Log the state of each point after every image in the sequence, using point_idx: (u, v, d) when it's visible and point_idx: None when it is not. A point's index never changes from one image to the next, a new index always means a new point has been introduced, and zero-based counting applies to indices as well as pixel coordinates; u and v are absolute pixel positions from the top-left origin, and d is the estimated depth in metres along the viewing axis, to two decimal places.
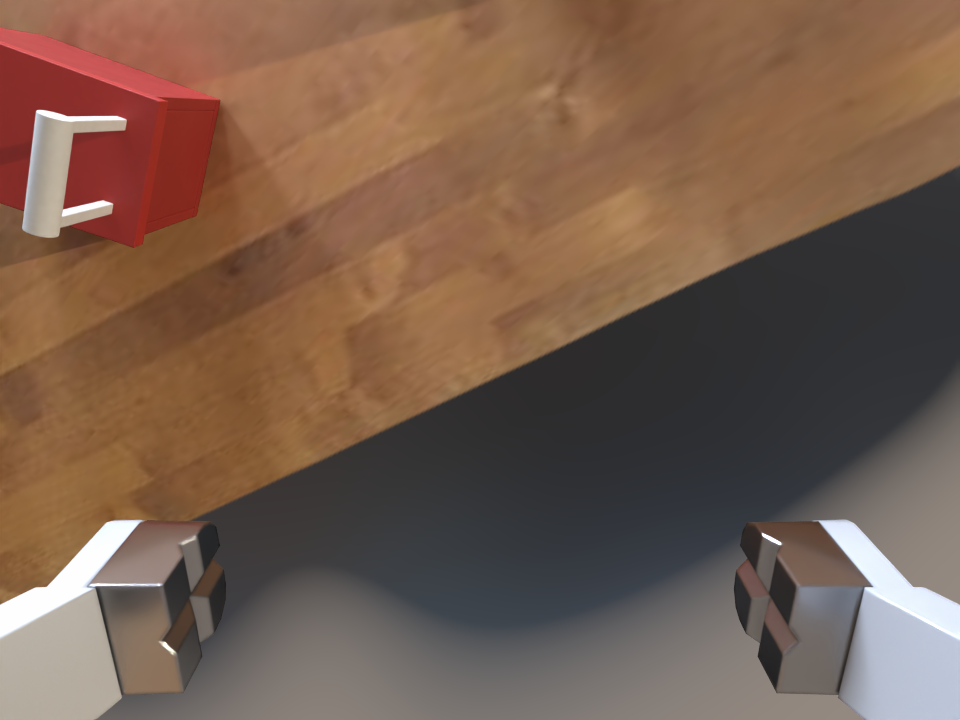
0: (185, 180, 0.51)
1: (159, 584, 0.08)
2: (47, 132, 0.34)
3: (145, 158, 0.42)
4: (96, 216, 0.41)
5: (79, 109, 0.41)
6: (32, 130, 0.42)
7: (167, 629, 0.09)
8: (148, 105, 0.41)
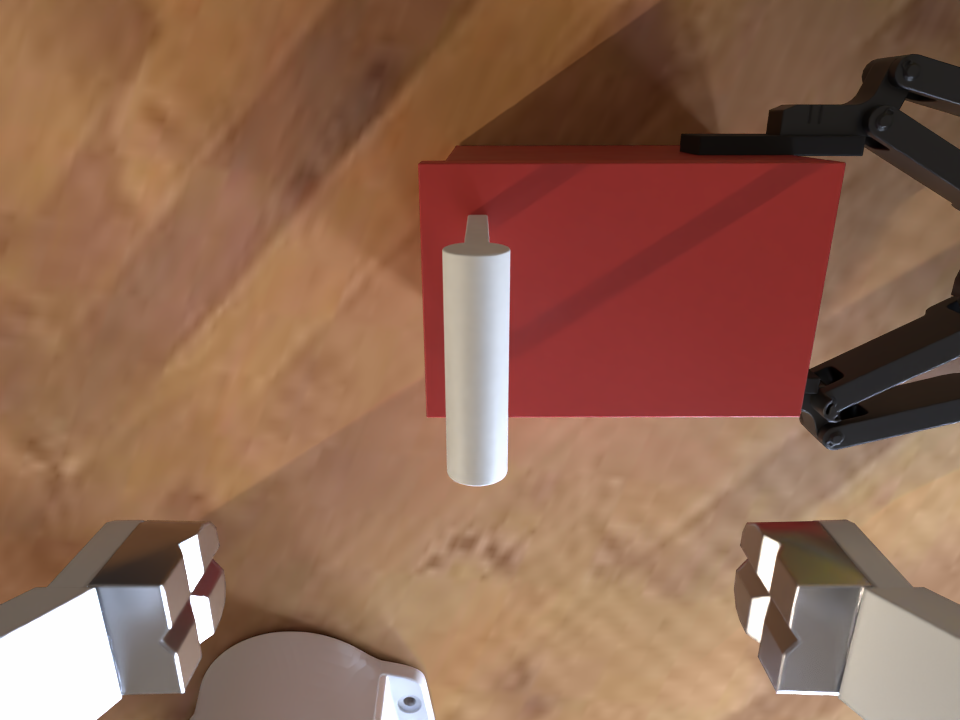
0: None
1: (159, 584, 0.08)
2: (471, 459, 0.18)
3: (430, 328, 0.25)
4: (466, 226, 0.22)
5: (544, 366, 0.25)
6: (616, 309, 0.25)
7: (167, 629, 0.09)
8: (441, 406, 0.26)
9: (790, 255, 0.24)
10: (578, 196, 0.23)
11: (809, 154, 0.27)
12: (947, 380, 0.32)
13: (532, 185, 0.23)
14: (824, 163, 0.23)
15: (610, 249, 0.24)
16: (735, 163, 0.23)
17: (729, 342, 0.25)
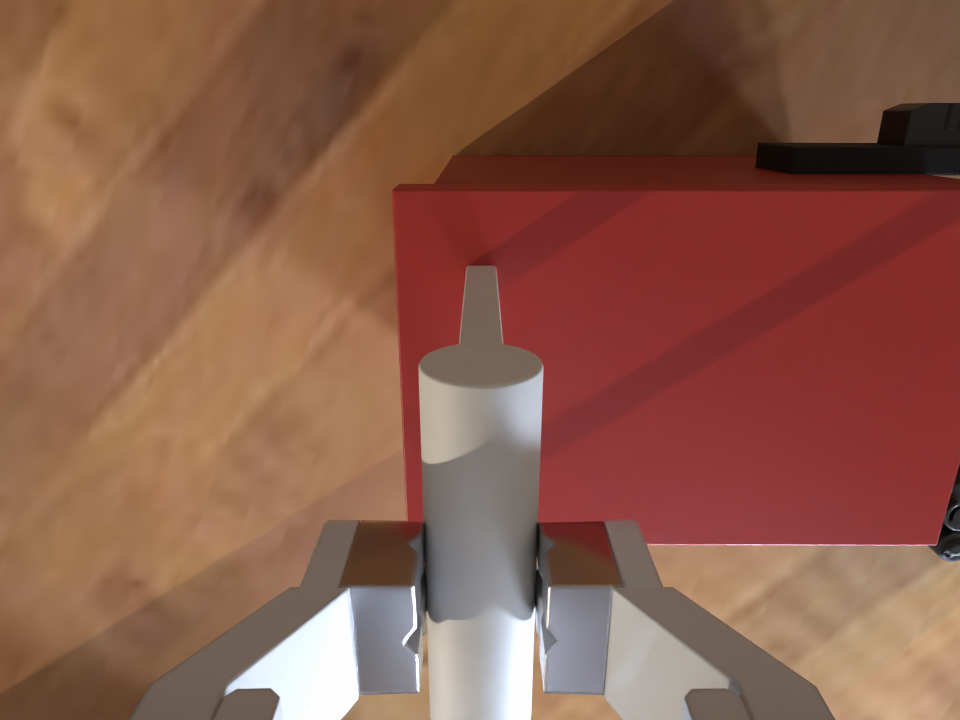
0: None
1: (410, 584, 0.08)
2: (470, 717, 0.10)
3: (412, 425, 0.17)
4: (464, 290, 0.14)
5: (576, 477, 0.18)
6: (682, 400, 0.17)
7: (411, 629, 0.09)
8: None
9: (941, 325, 0.16)
10: (631, 239, 0.16)
11: (947, 173, 0.19)
12: None
13: (563, 222, 0.15)
14: None
15: (676, 316, 0.16)
16: (869, 190, 0.15)
17: (842, 445, 0.17)
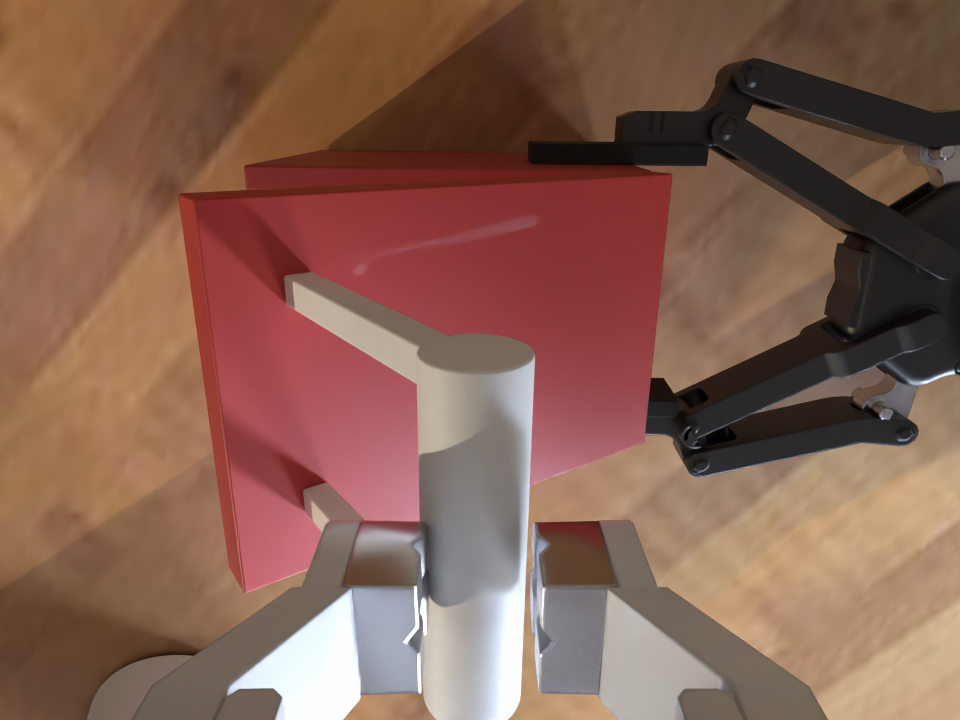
0: None
1: (412, 584, 0.08)
2: (493, 690, 0.11)
3: (238, 460, 0.15)
4: (317, 298, 0.13)
5: (403, 467, 0.18)
6: None
7: (413, 629, 0.09)
8: (266, 569, 0.17)
9: (633, 277, 0.22)
10: (430, 232, 0.17)
11: (650, 164, 0.25)
12: (824, 404, 0.30)
13: (372, 221, 0.16)
14: (657, 175, 0.21)
15: (470, 298, 0.18)
16: (586, 178, 0.19)
17: (587, 383, 0.22)
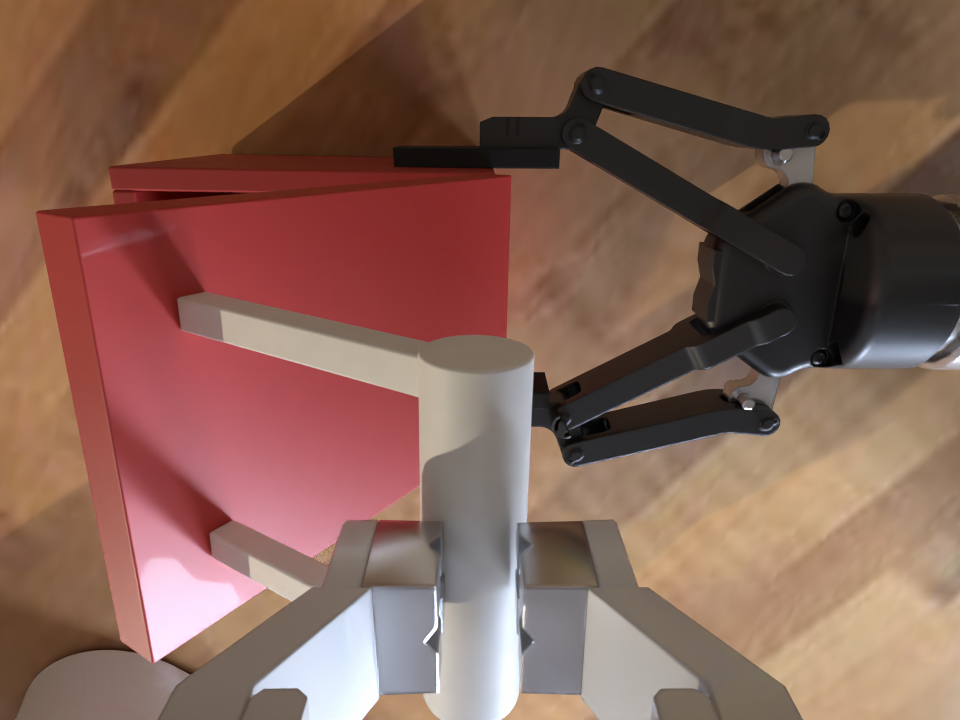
0: None
1: (431, 583, 0.08)
2: (506, 679, 0.11)
3: (138, 513, 0.13)
4: (239, 319, 0.12)
5: (305, 490, 0.17)
6: None
7: (433, 629, 0.09)
8: (175, 630, 0.15)
9: (487, 274, 0.23)
10: (317, 241, 0.16)
11: (505, 166, 0.26)
12: (696, 396, 0.32)
13: (262, 233, 0.15)
14: (500, 177, 0.22)
15: (356, 306, 0.18)
16: (446, 181, 0.20)
17: None
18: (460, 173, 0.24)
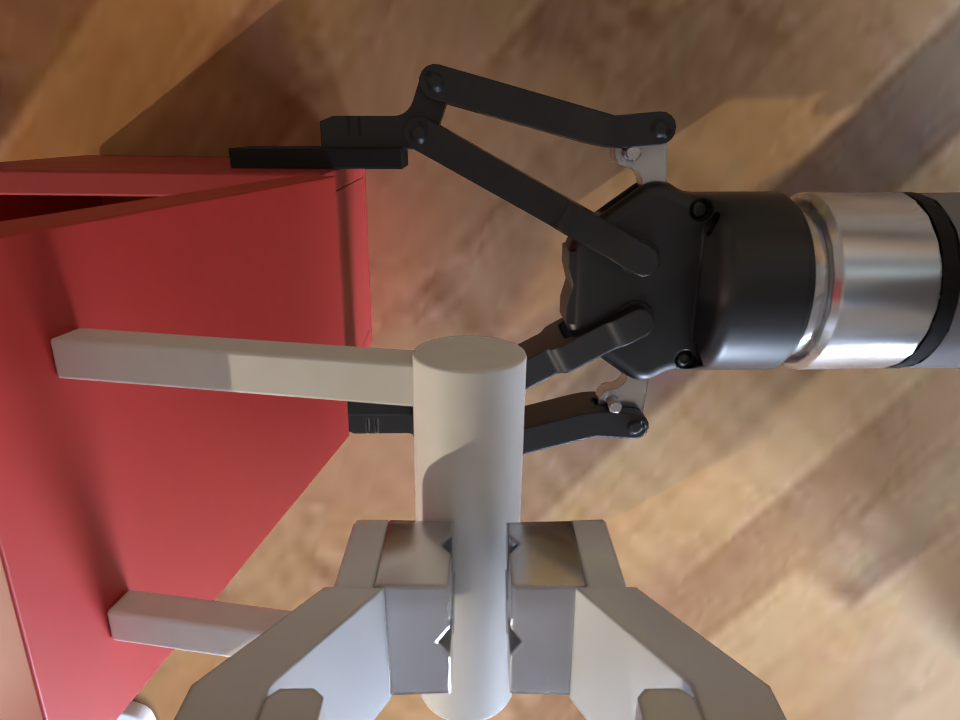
0: None
1: (444, 583, 0.08)
2: None
3: (31, 608, 0.11)
4: (156, 353, 0.11)
5: (193, 538, 0.15)
6: (239, 405, 0.17)
7: (445, 629, 0.09)
8: None
9: (324, 278, 0.22)
10: (180, 258, 0.14)
11: (347, 167, 0.26)
12: (569, 399, 0.31)
13: (128, 253, 0.13)
14: (327, 178, 0.22)
15: (221, 326, 0.16)
16: (285, 185, 0.19)
17: None
18: (284, 174, 0.23)
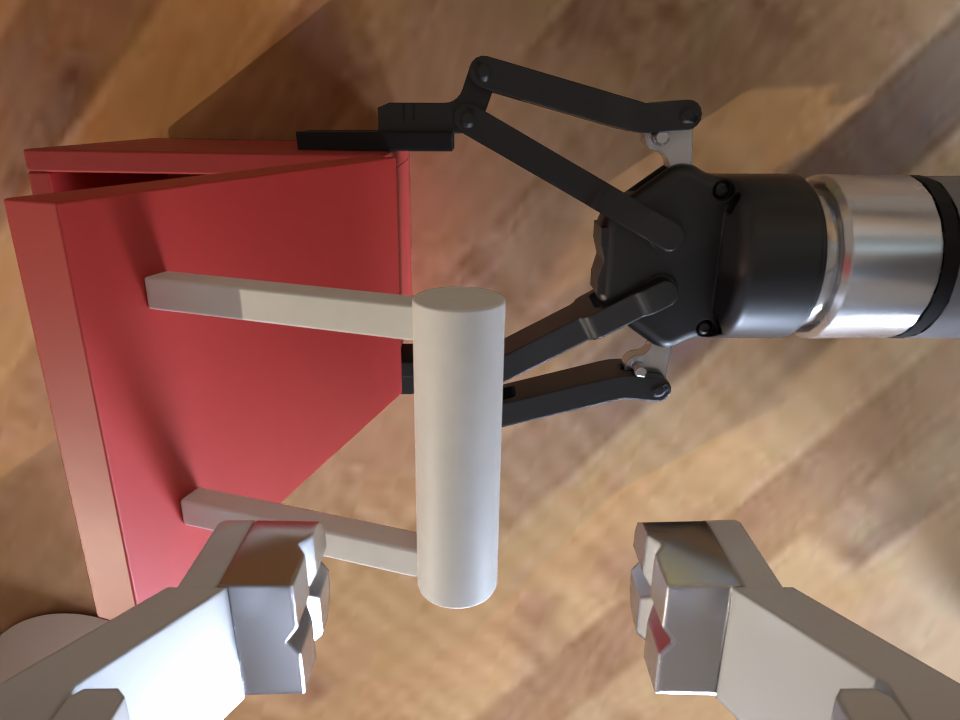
0: None
1: (289, 583, 0.08)
2: (491, 563, 0.14)
3: (123, 484, 0.14)
4: (220, 291, 0.14)
5: (253, 456, 0.19)
6: (297, 351, 0.20)
7: (293, 629, 0.09)
8: None
9: (382, 249, 0.25)
10: (251, 221, 0.17)
11: (402, 149, 0.28)
12: (597, 366, 0.34)
13: (208, 214, 0.16)
14: (388, 159, 0.24)
15: (284, 281, 0.19)
16: (347, 164, 0.22)
17: (364, 347, 0.24)
18: (350, 155, 0.26)
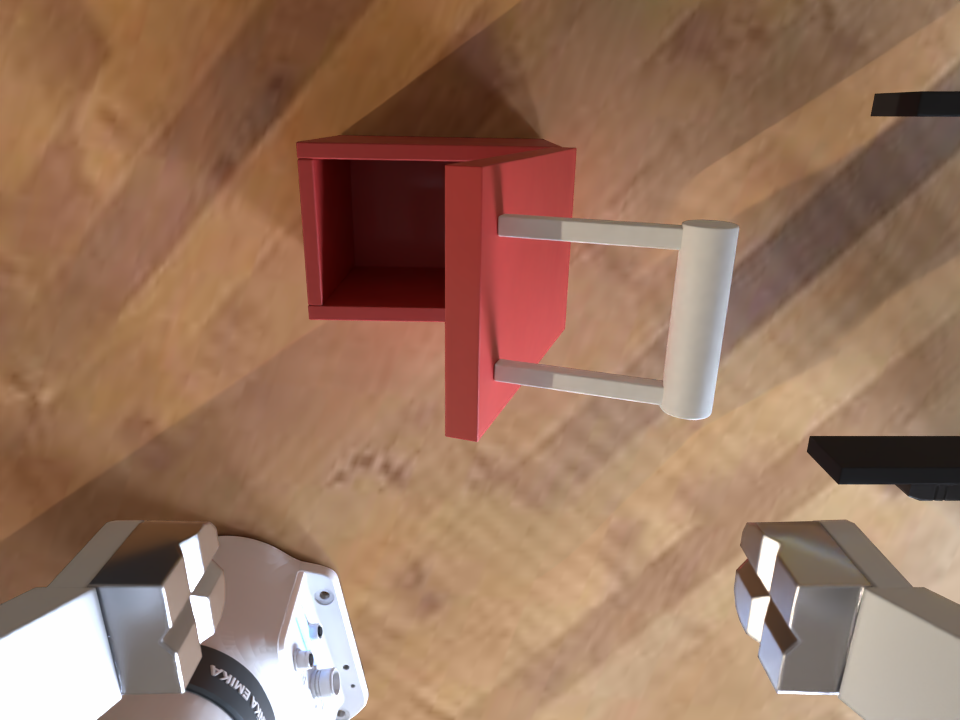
0: None
1: (159, 583, 0.08)
2: (713, 393, 0.23)
3: (481, 344, 0.23)
4: (552, 223, 0.22)
5: (515, 347, 0.27)
6: (534, 280, 0.29)
7: (167, 629, 0.09)
8: (483, 423, 0.24)
9: (566, 215, 0.34)
10: (528, 187, 0.26)
11: None
12: None
13: (517, 180, 0.25)
14: (573, 149, 0.33)
15: None
16: (559, 151, 0.30)
17: (554, 287, 0.33)
18: (538, 147, 0.35)
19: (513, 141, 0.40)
